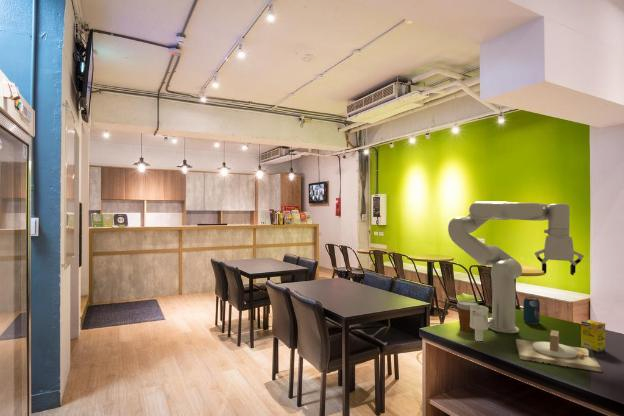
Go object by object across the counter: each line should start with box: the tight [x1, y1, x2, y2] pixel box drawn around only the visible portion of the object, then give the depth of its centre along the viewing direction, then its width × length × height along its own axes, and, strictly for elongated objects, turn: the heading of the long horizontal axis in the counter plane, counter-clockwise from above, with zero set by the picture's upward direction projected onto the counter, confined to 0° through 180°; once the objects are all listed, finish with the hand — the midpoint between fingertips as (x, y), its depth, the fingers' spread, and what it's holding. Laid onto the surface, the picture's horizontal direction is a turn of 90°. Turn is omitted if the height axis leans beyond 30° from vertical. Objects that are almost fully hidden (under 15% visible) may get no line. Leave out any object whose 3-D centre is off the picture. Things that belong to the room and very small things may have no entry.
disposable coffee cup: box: [456, 300, 479, 332], centre depth 173 cm, size 10×10×12 cm
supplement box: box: [580, 319, 606, 354], centre depth 149 cm, size 6×6×11 cm
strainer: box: [470, 304, 489, 342], centre depth 157 cm, size 7×7×15 cm
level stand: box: [515, 338, 602, 372], centre depth 141 cm, size 24×20×4 cm
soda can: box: [522, 296, 541, 325], centre depth 186 cm, size 7×7×12 cm
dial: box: [533, 329, 582, 358], centre depth 141 cm, size 14×16×7 cm
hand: (558, 273), depth 158 cm, fingers open, 9 cm apart
